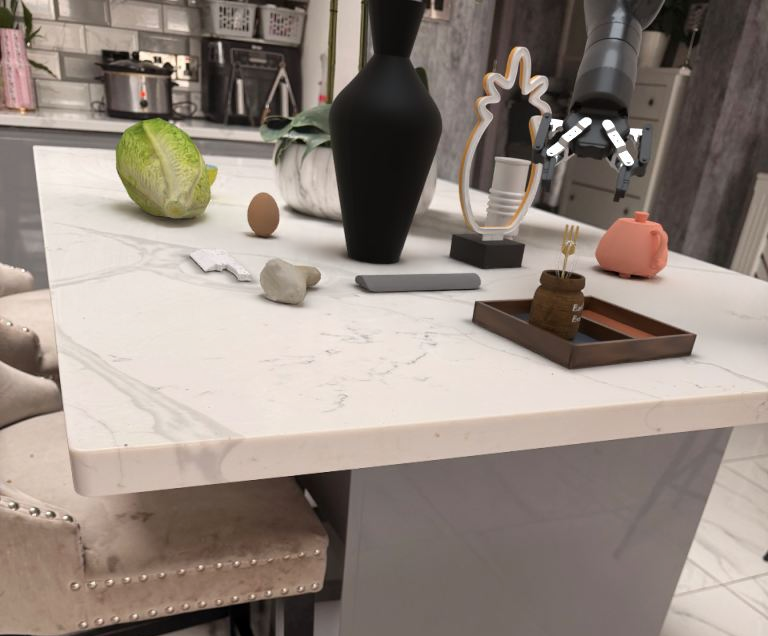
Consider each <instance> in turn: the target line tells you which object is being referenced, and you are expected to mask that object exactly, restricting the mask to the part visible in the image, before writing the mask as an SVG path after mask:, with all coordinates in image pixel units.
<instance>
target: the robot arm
mask: <svg viewBox="0 0 768 636" xmlns="http://www.w3.org/2000/svg"><path fill="white" fill-rule="evenodd" d="M665 1H666V0H583V12H584V21H585V31H586V36H587V37H586V43H585V48H584V50H583V51H584V52H583V56H582V60H581V62H580V64H579V66H578V67H579V68H578V70H577V73H576V79H575V82H574V85H573V92H572V97H571V101H570V106H569V109H568V114H567V116H566V117H565V118H564V119H563V120H562V119H558V118H557V119H556V118H553V113H552V114H551V113H549V112H546V113H544V114H543V116H542V119H541V122H540V126H539V129H538V132H537V135H536V138H535V142H534V145H533V146H532V153H531V163H532V164H533V163H534V164H539V163H541V164H542V172H541V178H540V182H539V185H540V188H543V191H544V193H546V194H550V193H551V190H552V184H553V180H554V176H555V171H556V168H557V166H559V165H560V164H562V163H565V162H567V161H569V160H570V159H571V158H572V157H574V156H575V155H576V157H577V158H580V159H588V158H590V159H592V160H596V161H597V160H598V161H603V159H605V161H606V162H607V163H608V165H609V166H610V168H611V169H614V170H615V171H616V173H617V174H618V175H617V180H616V184H615V188H614V189H615V190H614V195H613V199H612V202H613V203H619V202H620V199H625V198H626V196H627V193H628V190H629V186H630V181H631V178H632V177H634V176H636V177H637V178H644V177H645V176H646V173H647V168H648V165H649V163H650V159H651V151H652V140H653V132H654V126H653V125H652V124H650V123H646V124H643V126H642V128H633V127H632V128H631V126H630V124H629V118H630V113H631V108H632V102H633V97H634V94H635V88H636V81H637V76H638V62H639V57H640V52H641V46H642V41H643V31H644V30H646V29H647V28H648V27H649V26H650V25H652V23H653V22H654V20H655V19H656V17H658V14H659V13H660V11H661V9H662V7H663V5H664V3H665ZM559 132H560V133H561V136H560V138H559V139H558V141H556V142H555V144H553V145H551V146H550V147H548V148H547V143H548V140H552V138H553V137H555V136H556V133H559ZM628 141H631V142H632V146H633V147H634V150H637V154H636V155H637V156H636V159H633V157H632V155H631V154H630V153H629V151H628V148H627V144H626V143H627V142H628Z"/></svg>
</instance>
